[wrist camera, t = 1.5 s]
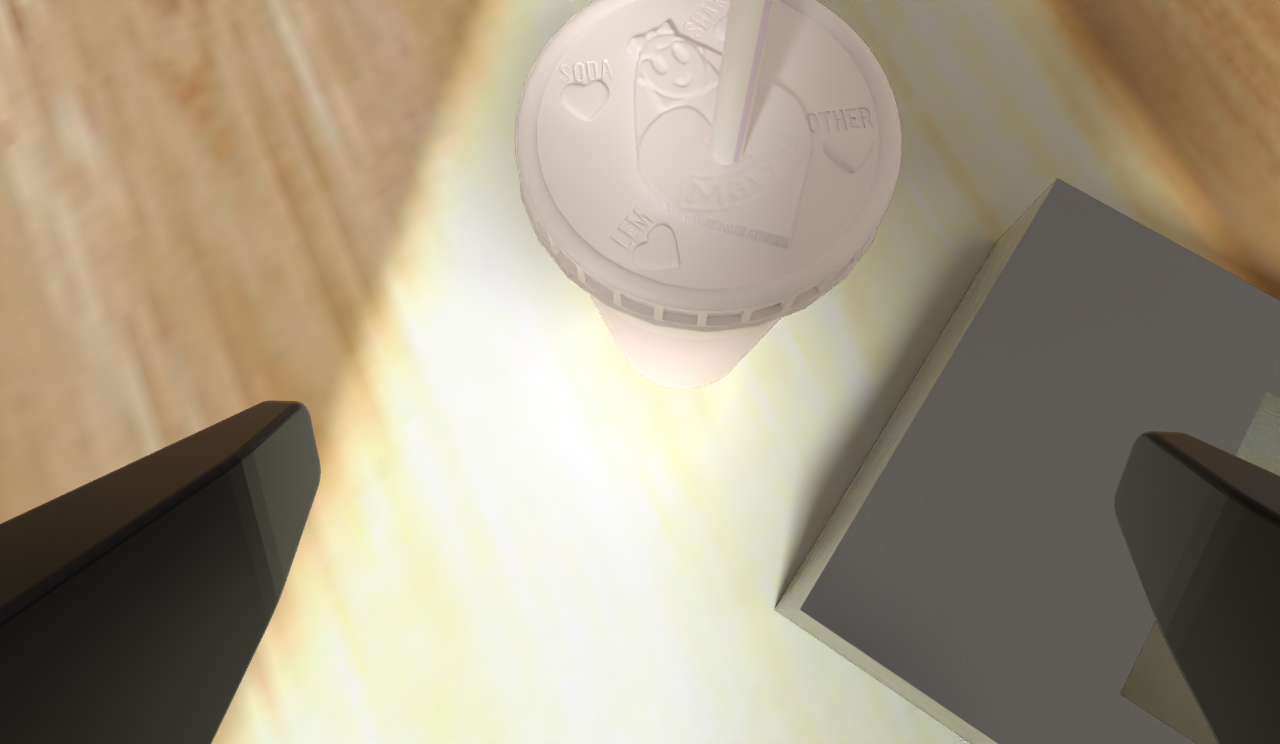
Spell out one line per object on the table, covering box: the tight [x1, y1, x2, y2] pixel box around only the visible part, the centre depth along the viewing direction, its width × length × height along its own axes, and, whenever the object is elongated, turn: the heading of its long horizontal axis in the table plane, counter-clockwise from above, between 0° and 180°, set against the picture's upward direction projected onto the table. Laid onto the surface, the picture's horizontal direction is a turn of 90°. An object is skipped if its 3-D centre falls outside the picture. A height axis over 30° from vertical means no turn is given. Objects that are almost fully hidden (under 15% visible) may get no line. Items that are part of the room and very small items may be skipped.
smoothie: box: [515, 0, 902, 389], centre depth 16 cm, size 6×6×14 cm
